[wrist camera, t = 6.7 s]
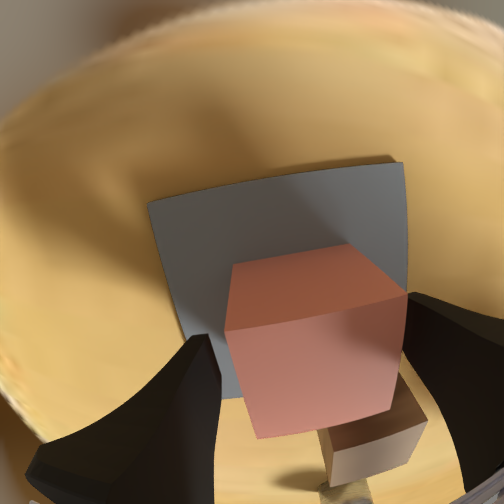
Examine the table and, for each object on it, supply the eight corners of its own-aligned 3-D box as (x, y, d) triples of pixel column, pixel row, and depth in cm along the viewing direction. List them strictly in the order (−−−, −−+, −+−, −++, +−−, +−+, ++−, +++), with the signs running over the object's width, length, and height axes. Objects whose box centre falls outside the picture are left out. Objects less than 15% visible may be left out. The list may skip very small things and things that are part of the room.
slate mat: (397, 162, 11) (402, 162, 10) (394, 358, 14) (398, 363, 14) (150, 201, 11) (146, 203, 11) (210, 394, 15) (209, 400, 14)
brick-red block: (349, 243, 11) (408, 293, 7) (352, 338, 13) (390, 409, 8) (233, 264, 12) (224, 331, 7) (254, 357, 13) (257, 439, 8)
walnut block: (393, 363, 14) (428, 420, 10) (383, 411, 16) (406, 463, 11) (314, 383, 15) (333, 452, 10) (316, 429, 16) (330, 487, 11)
